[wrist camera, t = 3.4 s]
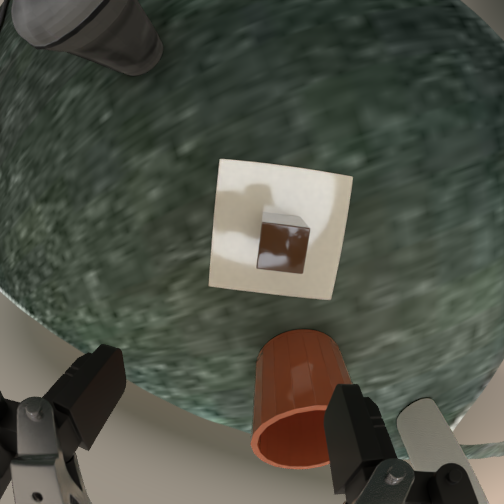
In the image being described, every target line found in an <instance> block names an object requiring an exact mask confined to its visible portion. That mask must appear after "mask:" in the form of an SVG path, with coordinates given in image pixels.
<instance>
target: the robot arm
mask: <svg viewBox="0 0 504 504" xmlns="http://www.w3.org/2000/svg"><path fill="white" fill-rule="evenodd" d="M7 3H8V0H4V2H3V5H2V8H1V12H0V27H1V24H2V21H3V18H4V14H5V10H6V6H7ZM125 387H126V375H125V368H124V362H123V355H122V351H121V349H119V348H115V347H112V346H109V345H105V344H101V345H100V346H99V347H98V348H97V349H96V350H95V351H94V352H93V354H92V353H87V354H85V355H83V356H81V357H79V358H78V359H77V360H76V361H75V362H74V363H73V364H72V365H71V367H69V369H68V370H66V372H65V374H63V375H62V376H61V377H60V378H59V379H58V380H57V382H56V383H55V384H54V385H53V386H52V387H51V388H50V390H49V391H48V392H47V393H46V394H45V395H44V396H43V397H42V398H41V397H30V398H27V399H25V400H23V401H22V402H21V403H20V402H15V401H11V400H8V399H5V398H4V397H3V396H2V393H1V391H0V499H1V497H2V495H3V494H4V492H5V490H6V488H7V486H8V484H9V483H10V481H11V479H12V486H13V493H14V500H15V504H92V503H91V502H90V499H89V497H88V495H87V492H86V489H85V486H84V482H83V479H82V475H81V472H80V468H79V464H78V460H77V456H76V453H75V451H76V450H77V448H78V446H79V447H81V448H83V449H85V450H88V451H89V450H90V448H91V446H92V444H93V443H94V441H95V439H96V437H97V436H98V434H99V432H100V431H101V429H102V428H103V426H104V424H105V422H106V421H107V419H108V417H109V416H110V414H111V412H112V411H113V409H114V408H115V406H116V404H117V403H118V401H119V399H120V398H121V396H122V394H123V393H124V390H125ZM381 417H382V416H381V413H380V411H379V408H378V406H377V405H376V404H375V403H374V402H373V401H372V400H371V399H370V398H369V397H363V395H362V392H361V390H360V387H359V385H358V384H337V385H336V387H335V389H334V392H333V394H332V397H331V399H330V401H329V404H328V406H327V409H326V411H325V414H324V431H325V436H326V442H327V448H328V454H329V461H330V467H331V473H332V480H333V486H334V493H335V494H345V495H346V501H345V502H344V503H343V504H479V502H478V500H477V497H476V494H475V492H474V489H473V486H472V484H471V481H470V479H469V476H468V474H467V472H466V470H465V469H464V468H463V467H462V466H460V465H458V464H456V463H447V464H444V465H442V466H441V467H440V468H439V469H438V470H437V471H436V472H425V471H414V470H413V469H412V467H411V466H410V465H409V464H408V463H407V462H405V461H403V460H401V459H398V458H397V456H396V453H395V450H394V448H393V445H392V442H391V440H390V437H389V434H388V432H387V429H386V427H385V424H384V421H383V419H382V418H381Z"/></svg>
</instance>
